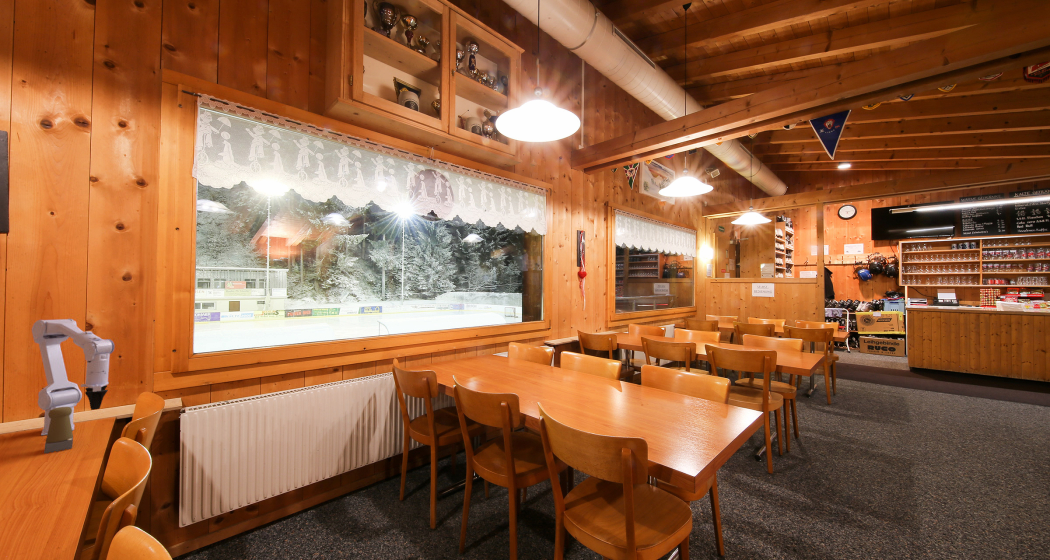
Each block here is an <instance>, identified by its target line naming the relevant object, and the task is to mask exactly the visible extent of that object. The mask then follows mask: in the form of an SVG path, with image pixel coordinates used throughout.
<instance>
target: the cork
mask: <svg viewBox="0 0 1050 560" xmlns="http://www.w3.org/2000/svg"><path fill="white" fill-rule="evenodd" d="M71 413H72V409H71V408H70V407H59V408H55V409H52V410H50V412H49V414H48V416H49V418H51V421H50V425H49V430H48V434H47V435H46V439H45V443H53V442H59V441H64V440H67V439H70V438H72V437H73V438H74V436H73V435H74V434H73V430H72V428H71V422H70V417H69V415H70V414H71Z"/></svg>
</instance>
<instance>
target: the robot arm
mask: <svg viewBox="0 0 1050 560" xmlns="http://www.w3.org/2000/svg"><path fill="white" fill-rule="evenodd" d="M77 325H78V324H77V321H76V320H74V319H72V318H67V319H66V318H64V319H63V318H61V319H38V320H36V321H35V322H34V323H33V325H32V327H31V333H32V338H33V341H34V343H35V344H38V347H39V351H40V356H41V361H42V364H43V369H44V375H45V379H46V382H47V385H46V386H45V387H43V388H42V389H41V390H40V391H38V399H37V405H38V408H40V409H41V410H42V411H44V419H43V422H44V423H43V428H42V431H41V434H40V435H41V436H47V434H48V430H49V425H50V421H51V418H49V416H48V414H49V412H50V410H52V409H55V408H59V407H70V408H71V409H72V413H71V414H70V415H69V417H70V422H71V428H72V431H74V430H75V423H74V412H75V407H77V404H78V403H80V401H81V400H82V397H83V393H82V391H81V390H80V388H85V393H84V394H85V396H87V398H88V402H89V407H90V411H93V410H100V408H101V406H102V402H103V400H104V398H105V396H106V394H107V393H108V389H107V387H108V385H109V371H110V370H109V369H110V356H111V355H112V353H113V352H114V351H115V343H114V341H113V340H112V339H110V338H109V339H102V338H101V337H100V336H97V335H96V334H94V333H93V331H90V330H89V331H83V330H82V329H80V328H79V326H77ZM69 338H71V339H72V342H73V344H75V345H76V346H78V347H80V348H81V349H82V350H83V351H82V352H83V354H84V360H85V361H86V371H85V372H86V373H85V374H86V375H85V383H81V384H80V388H79V386H78V383H76V382H72V381H69V380H68V379H69V378H68V374H67V369H66V365H65V362H64V357H63V356H64V355H63V353H62V350H61V349H62V348H61V344H62V342H65V341H67V340H68V339H69Z"/></svg>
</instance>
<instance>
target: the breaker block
mask: <svg viewBox="0 0 1050 560" xmlns="http://www.w3.org/2000/svg"><path fill="white" fill-rule="evenodd" d="M73 440H74V436H73V437H72V438H70V439H67V440H64V441H59V442H53V443H46V442H45V443H44V451H43V454H45V453H46V454H50V453H49V452H51V453H55V452H54V451H56V452H60V450H62V451H66V450H65V449H67V450H71V448H72V449H73V442H74V441H73ZM46 454H45V455H46Z"/></svg>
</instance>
